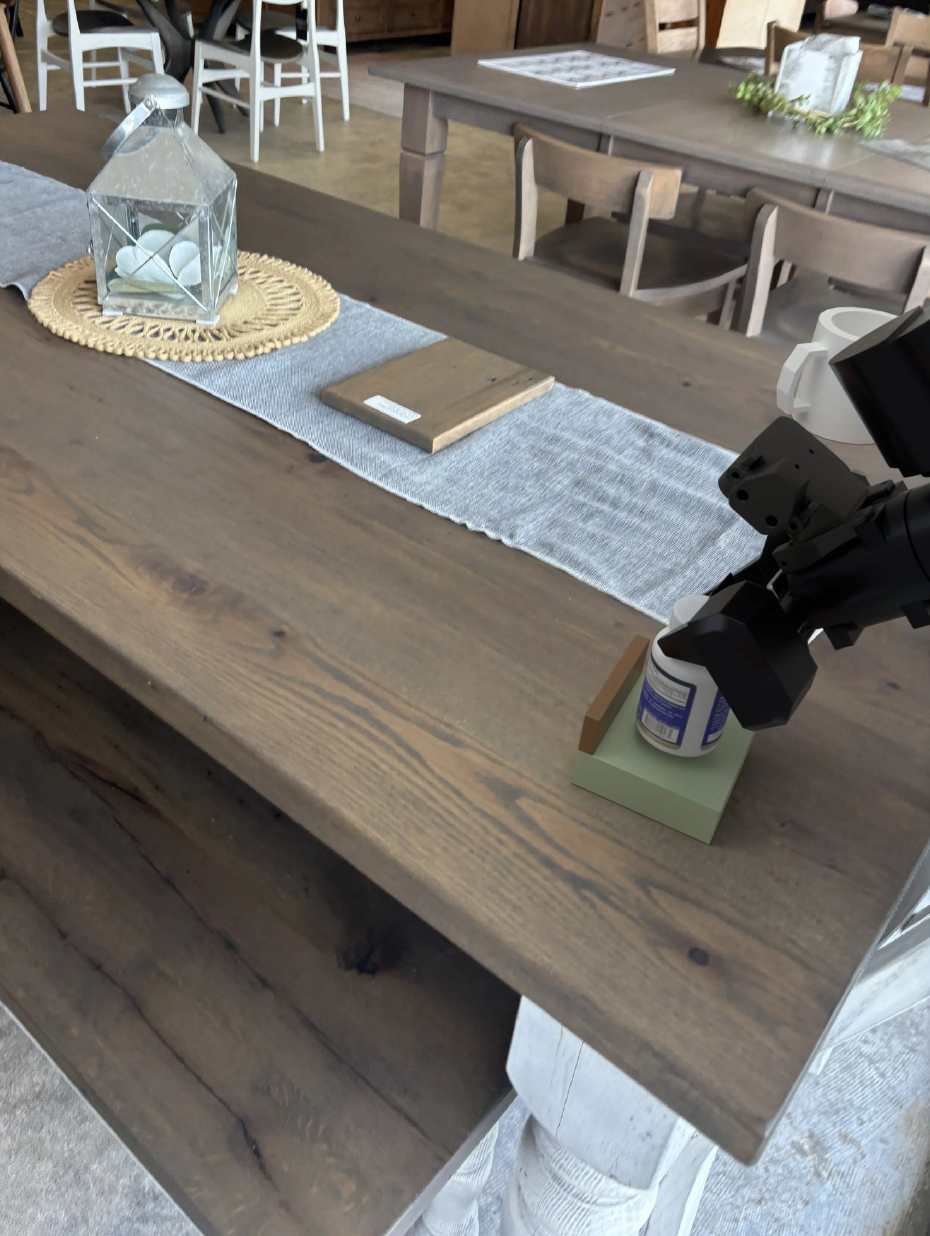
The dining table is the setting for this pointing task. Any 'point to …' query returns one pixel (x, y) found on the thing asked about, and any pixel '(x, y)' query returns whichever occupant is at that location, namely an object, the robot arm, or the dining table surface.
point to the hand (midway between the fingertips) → (679, 627)
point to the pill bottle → (680, 697)
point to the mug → (827, 376)
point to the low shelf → (654, 758)
